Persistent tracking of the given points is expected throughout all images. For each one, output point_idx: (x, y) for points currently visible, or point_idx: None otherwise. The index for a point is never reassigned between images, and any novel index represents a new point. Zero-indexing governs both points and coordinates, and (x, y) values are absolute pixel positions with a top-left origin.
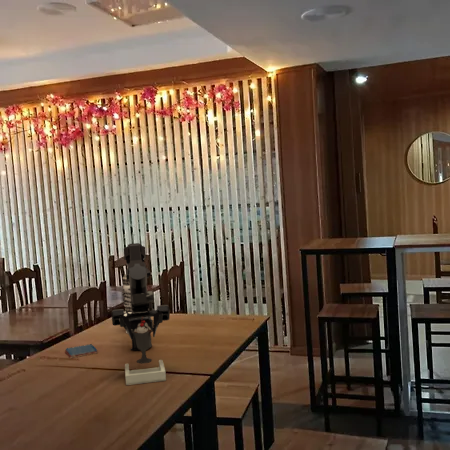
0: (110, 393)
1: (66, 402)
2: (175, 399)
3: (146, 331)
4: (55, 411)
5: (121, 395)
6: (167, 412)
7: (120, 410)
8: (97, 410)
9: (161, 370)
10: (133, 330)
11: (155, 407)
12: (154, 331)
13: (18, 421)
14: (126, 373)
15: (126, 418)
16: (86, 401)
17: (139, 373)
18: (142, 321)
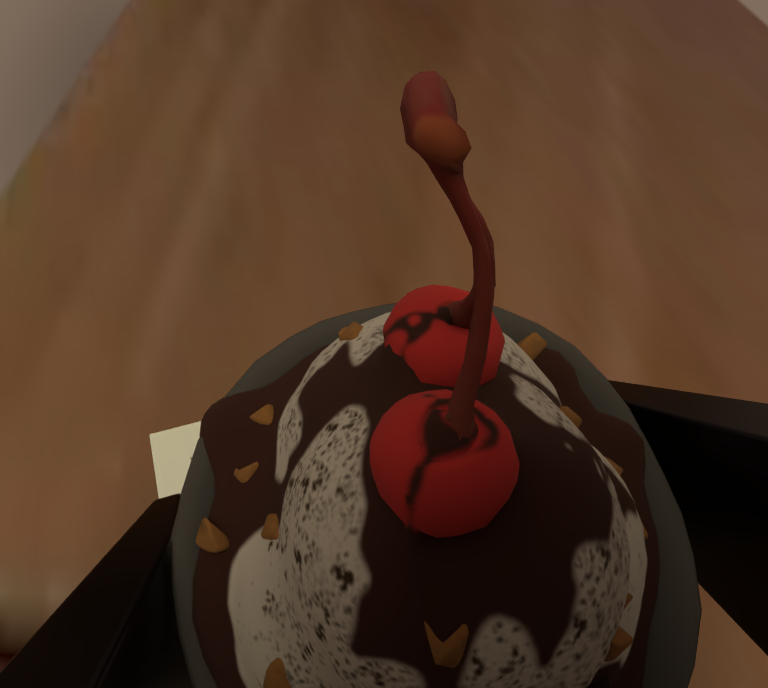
0: (500, 259)
1: (671, 174)
2: (95, 149)
3: (303, 377)
4: (655, 96)
5: (423, 227)
6: (135, 31)
7: (365, 72)
8: (472, 84)
9: (188, 458)
10: (677, 562)
11: (199, 80)
12: (129, 540)
13: (736, 39)
14: None
15: (314, 9)
16: (578, 175)
17: None
18: (468, 397)
